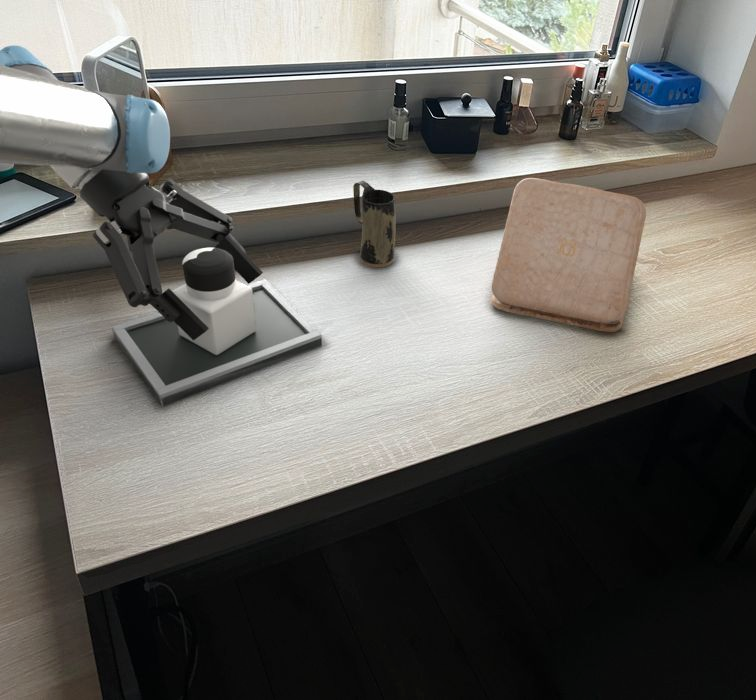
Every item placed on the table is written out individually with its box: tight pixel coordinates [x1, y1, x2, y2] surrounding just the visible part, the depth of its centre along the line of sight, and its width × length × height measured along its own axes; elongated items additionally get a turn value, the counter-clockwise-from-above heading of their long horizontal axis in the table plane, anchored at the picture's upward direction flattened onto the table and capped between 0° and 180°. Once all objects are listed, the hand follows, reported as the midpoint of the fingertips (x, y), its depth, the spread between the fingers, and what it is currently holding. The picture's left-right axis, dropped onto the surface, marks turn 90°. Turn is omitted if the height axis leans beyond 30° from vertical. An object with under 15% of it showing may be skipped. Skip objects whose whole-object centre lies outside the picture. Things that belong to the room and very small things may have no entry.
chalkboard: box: [111, 278, 323, 408], centre depth 97 cm, size 22×16×2 cm
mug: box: [352, 180, 397, 268], centre depth 115 cm, size 8×6×12 cm
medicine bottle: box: [171, 247, 256, 355], centre depth 93 cm, size 7×7×12 cm
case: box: [491, 177, 647, 333], centre depth 111 cm, size 20×21×16 cm
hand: (230, 305), depth 93 cm, fingers open, 13 cm apart
